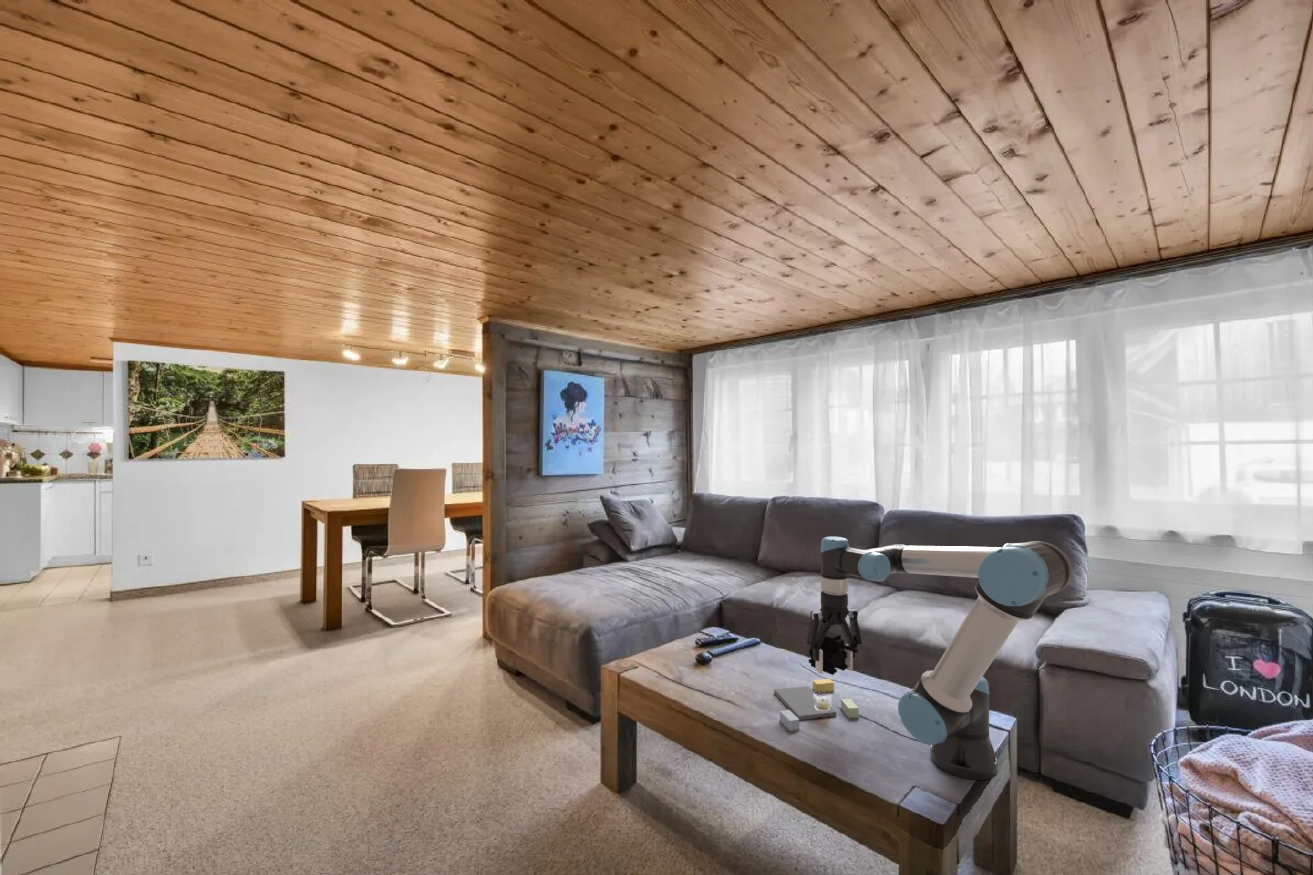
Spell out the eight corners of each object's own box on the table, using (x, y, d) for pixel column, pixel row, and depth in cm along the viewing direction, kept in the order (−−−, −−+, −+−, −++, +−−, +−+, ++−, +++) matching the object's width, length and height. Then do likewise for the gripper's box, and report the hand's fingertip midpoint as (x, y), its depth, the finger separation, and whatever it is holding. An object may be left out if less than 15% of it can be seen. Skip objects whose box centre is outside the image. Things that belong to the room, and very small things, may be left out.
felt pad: (836, 715, 166) (836, 711, 166) (799, 719, 163) (799, 715, 163) (808, 689, 183) (808, 686, 183) (774, 693, 181) (774, 689, 181)
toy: (848, 683, 151) (848, 646, 151) (806, 665, 162) (806, 631, 162) (864, 676, 155) (864, 640, 155) (822, 659, 167) (822, 626, 167)
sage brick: (858, 718, 165) (858, 707, 165) (848, 718, 165) (848, 708, 165) (850, 708, 171) (850, 698, 171) (841, 708, 171) (841, 698, 171)
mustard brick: (829, 687, 185) (829, 678, 185) (833, 691, 182) (833, 682, 183) (812, 689, 184) (812, 680, 184) (817, 693, 181) (817, 684, 181)
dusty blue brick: (799, 729, 158) (799, 719, 158) (789, 731, 157) (789, 720, 157) (789, 719, 164) (789, 709, 164) (780, 721, 163) (779, 710, 163)
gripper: (860, 586, 164) (860, 662, 164) (793, 589, 160) (793, 667, 160) (875, 592, 157) (875, 672, 157) (806, 597, 153) (805, 679, 153)
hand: (834, 670), depth 158 cm, fingers closed on toy, 9 cm apart
